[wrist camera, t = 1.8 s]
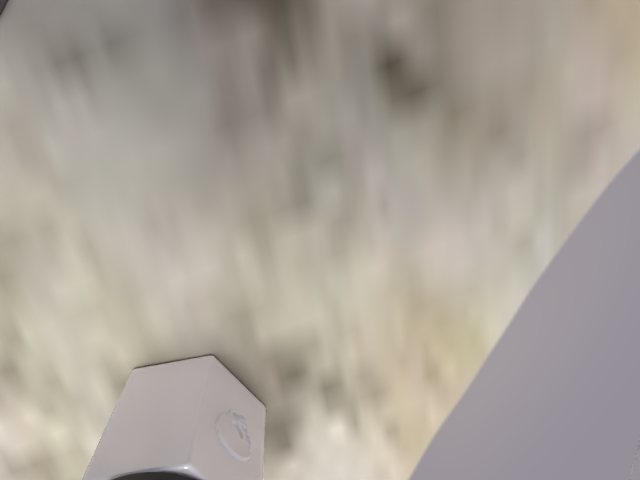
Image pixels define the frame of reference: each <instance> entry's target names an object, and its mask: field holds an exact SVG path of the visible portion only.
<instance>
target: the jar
mask: <svg viewBox="0 0 640 480" xmlns="http://www.w3.org/2000/svg"><path fill="white" fill-rule="evenodd" d="M265 420H266V408H265V406H264V405H263V404H262V403H261V402H260V401H259V400H258V399H257V398H256V397H255V396H254V395H253V394H252V393H251V392H250V391H249V390H248V389H247V388H246V387H245V386H244V385H243V384H242V383H241V382H240V381H238V380H237V379H236V378H235V377H234V376H233V375H232V374H231V373H230V372H229V371H228V370H227V369H226V368H225V367H224V366H223V365H222V364H221V363H220V362H219V361H218V360H217V359H216V358H215V357H214V356H204V357H199V358H193V359H188V360H182V361H176V362H171V363H165V364H159V365H154V366H148V367H143V368H137V369H133V370H132V371H131V373H130V375H129V377H128V379H127V382H126V384H125V386H124V388H123V390H122V393H121V395H120V397H119V399H118V401H117V404H116V406H115V408H114V410H113V412H112V415H111V417H110V419H109V421H108V423H107V426H106V428H105V430H104V432H103V434H102V437H101V439H100V441H99V443H98V445H97V448H96V450H95V452H94V454H93V456H92V459H91V461H90V463H89V465H88V467H87V470H86V472H85V474H84V476H83V478H82V480H263V465H264V442H265Z"/></svg>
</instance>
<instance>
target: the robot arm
mask: <svg viewBox="0 0 640 480" xmlns="http://www.w3.org/2000/svg"><path fill="white" fill-rule="evenodd" d="M6 1H7V0H0V13H1V12H2V10H3V8H4V5H5V3H6ZM629 480H640V438H639V442H638V446H637V450H636V454H635V458H634V463H633V467H632V471H631V475H630V479H629Z"/></svg>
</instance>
